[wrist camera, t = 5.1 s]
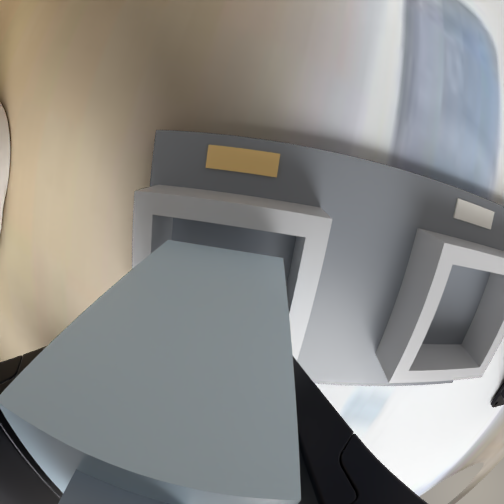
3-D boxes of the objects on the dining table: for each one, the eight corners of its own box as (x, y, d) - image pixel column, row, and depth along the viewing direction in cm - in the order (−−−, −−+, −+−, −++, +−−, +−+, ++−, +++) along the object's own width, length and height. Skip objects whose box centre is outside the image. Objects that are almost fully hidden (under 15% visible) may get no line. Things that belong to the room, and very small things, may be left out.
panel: (510, 210, 12) (546, 223, 9) (447, 375, 16) (466, 405, 12) (162, 131, 12) (130, 124, 9) (153, 347, 16) (132, 383, 13)
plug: (283, 257, 10) (301, 560, 1) (264, 352, 11) (246, 581, 3) (168, 239, 10) (-34, 433, 1) (166, 334, 11) (64, 528, 3)
